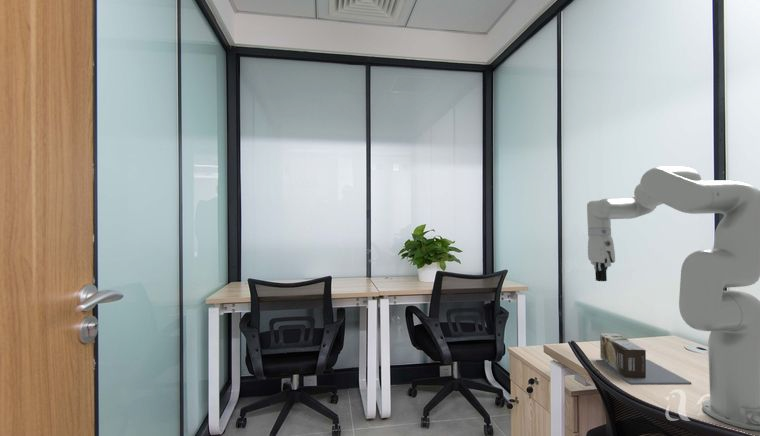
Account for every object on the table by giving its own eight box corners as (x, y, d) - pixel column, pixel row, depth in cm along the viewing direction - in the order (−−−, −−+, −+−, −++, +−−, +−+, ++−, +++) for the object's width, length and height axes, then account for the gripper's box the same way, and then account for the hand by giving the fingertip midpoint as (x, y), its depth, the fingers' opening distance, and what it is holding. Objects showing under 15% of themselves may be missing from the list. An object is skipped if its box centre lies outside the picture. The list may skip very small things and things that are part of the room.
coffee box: (599, 333, 126) (623, 348, 110) (618, 333, 125) (646, 348, 109) (600, 358, 125) (624, 377, 110) (619, 359, 125) (647, 378, 109)
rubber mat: (691, 384, 106) (691, 382, 106) (630, 384, 106) (630, 382, 106) (647, 360, 124) (647, 359, 124) (596, 361, 124) (596, 359, 124)
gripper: (622, 232, 126) (624, 283, 125) (597, 232, 140) (599, 277, 140) (601, 233, 126) (603, 284, 125) (578, 232, 141) (580, 278, 140)
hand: (601, 280), depth 133 cm, fingers closed
